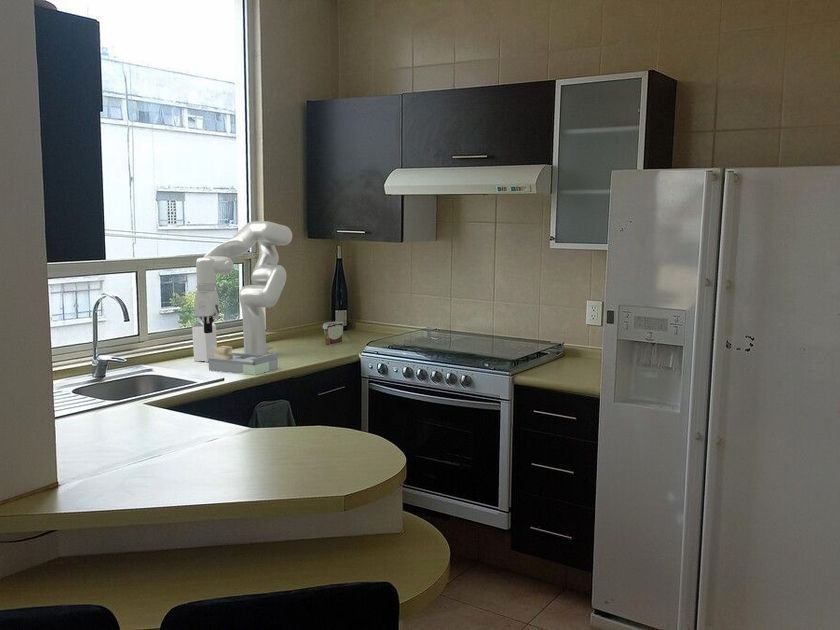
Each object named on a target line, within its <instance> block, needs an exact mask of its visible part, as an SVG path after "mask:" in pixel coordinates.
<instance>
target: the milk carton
mask: <svg viewBox="0 0 840 630" xmlns="http://www.w3.org/2000/svg"><path fill="white" fill-rule="evenodd" d="M191 329H192V346H193V347H192V348H193V361H194V360H195V361H194V362H199V361H205V362H204V363H209V362H208V358H214V359H215V355H214V348H216V347H218V346H217V345H218V339H217V325H216V324H215V323H214V322H213V323H212V333H204V323H202V320H201V319H200V318H197V321H196V323H194V324H193V325H192V328H191Z"/></svg>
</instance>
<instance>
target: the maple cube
mask: <svg viewBox="0 0 840 630" xmlns="http://www.w3.org/2000/svg"><path fill="white" fill-rule="evenodd" d="M232 353H233V346H227V345H222V346H221V345H220V346H217V347H216V348H214V355H215V359H225V360H230V359H233V356H232Z"/></svg>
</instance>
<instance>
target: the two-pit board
mask: <svg viewBox="0 0 840 630" xmlns="http://www.w3.org/2000/svg"><path fill="white" fill-rule="evenodd" d="M232 356H233V359H230V360H225V359H214V358H208V361H209V362H208V371H210V370H215V371H214V372H219V371H222V372H221V373H228V372H232V373H231V374H238V373H244V374H243V375H247V374H253V375H252V376H257V375H256V374H258V375H261V374H264V372H265V373H268V372H271V371H275V370H277V369H279V366H278V365H279V364H278V363H279V360H278V352H274V353H270V354H269V355H253V354H243V353H242V352H232ZM260 373H261V374H260Z"/></svg>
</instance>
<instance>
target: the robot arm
mask: <svg viewBox="0 0 840 630" xmlns="http://www.w3.org/2000/svg"><path fill="white" fill-rule="evenodd" d="M292 239H293V233H292V230H291V229H290V227H289V226H286V225H283V224H279V223H275V222H273V221H266V220H262V221H260V220H259V221H258V220H257V221H256V220H255V221H254V220H253V221H250V222H247V223H246V224H245V225H244V226H243V227H242V228H241V229H240V230H238V232H236V234H234V235H233V237H231V238H230V239H227V240H226V241H224V242H222V243H219V244H218V245H215V246H214V247H212V248H211V249H210V250H209V251H208V252H206V254H205V255H203V257H198V258H197V259H196V261H195V267H196V268H195V269H196V285H195V288H196V291H195V294H194V307H193V309H194V311H193V312H194V315H195V316H196V317H197V319H198V318H200V319H201V320H202V323H204V333H212V323H214V321H215V320H218V319H219V318H220V317H219V315H220V311H221V310H220V309H221V308H220V299H219V293H218V291H217V277H216V276H217V275H221V276H222V275H223V276H224V275H229V274H230V273H232V271H233V270H234V267H235V266H234V265H235V264H234V262H233V260H232V259H233V258H236V257H240V256H242V255H245V254H247V253H248V251H250V249H251V248H253V246H254V245H256V244H257V243H258V246H259V249H260V254H259V257H258V259H257V262H256V263H255V266H254V268H253V270H252V273H251V275H250V276H251V281H252V283H253V284H248V285H247V284H246V285H244V286H243V287H241V289H240V290H239V293H238V300H239V302H240V307H241V308H240V309H241V313H242V314H241V315H242V332H243V333H242V334H243V353H242V354H253V355H269V354H271V353H270V352H269V350H272V349H273V348H274V347H273V345H272V344H267V337H266V335H267V334H266V316H265V313H264V310H263V308H273V307H274V306H275V305H276V304H277V303H278V300H279V298H280V297H281V293H282V292H283V289H284V287H285V284H286V282H287V270H286V269H285V268H284V266H283V265H280V264H278V263H279V260H280V259H279V258H280V257H279V252H278V250H277V248H276V246H287V245H289V244H290V243H291V242H292Z"/></svg>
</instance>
